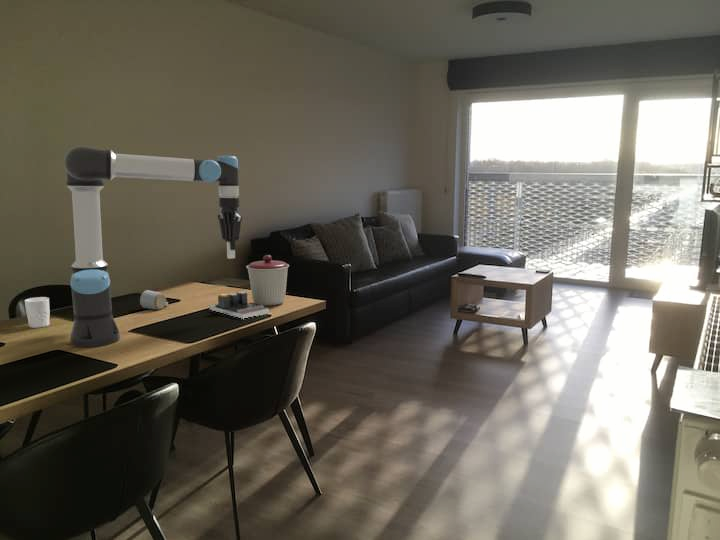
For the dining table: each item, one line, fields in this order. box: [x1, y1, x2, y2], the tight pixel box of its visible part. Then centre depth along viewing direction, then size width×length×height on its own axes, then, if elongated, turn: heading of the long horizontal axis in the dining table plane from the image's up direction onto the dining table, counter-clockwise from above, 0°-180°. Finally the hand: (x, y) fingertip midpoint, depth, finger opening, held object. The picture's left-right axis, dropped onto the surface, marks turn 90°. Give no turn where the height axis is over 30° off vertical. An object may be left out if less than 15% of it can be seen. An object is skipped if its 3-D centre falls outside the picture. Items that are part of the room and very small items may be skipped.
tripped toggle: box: [217, 293, 230, 308], centre depth 228 cm, size 3×4×5 cm, turn 48°
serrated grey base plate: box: [209, 290, 270, 320], centre depth 229 cm, size 13×22×7 cm, turn 48°
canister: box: [245, 254, 290, 307], centre depth 243 cm, size 18×18×21 cm
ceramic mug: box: [139, 289, 169, 311], centre depth 237 cm, size 11×8×8 cm
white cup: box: [24, 296, 51, 329], centre depth 211 cm, size 8×8×10 cm
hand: (231, 258), depth 221 cm, fingers closed
